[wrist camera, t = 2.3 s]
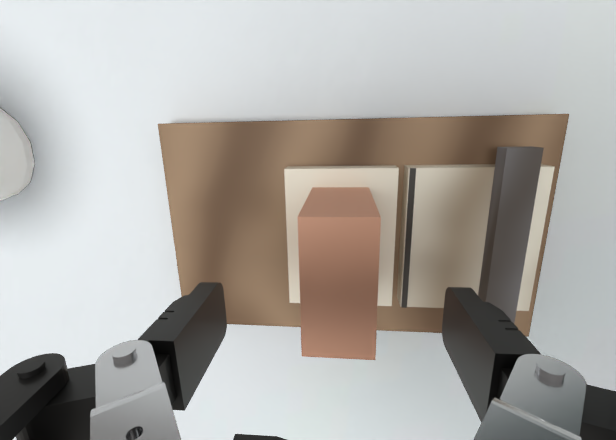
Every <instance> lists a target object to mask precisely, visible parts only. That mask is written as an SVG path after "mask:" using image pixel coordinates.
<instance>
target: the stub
mask: <svg viewBox="0 0 616 440" xmlns="http://www.w3.org/2000/svg"><path fill="white" fill-rule="evenodd" d="M398 175H399V168H398V167H397V166H396V165H389V166H288V167H286V168H285V169H284V177H285V201H286V226H287V251H288V275H289V300H290V303H300V313H301V345H302V356H306V357H326V358H345V359H365V360H375V354H376V328H377V306H392V289H393V270H394V251H395V232H396V213H397V194H398Z"/></svg>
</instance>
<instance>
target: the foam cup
mask: <svg viewBox="0 0 616 440" xmlns="http://www.w3.org/2000/svg"><path fill="white" fill-rule="evenodd" d="M34 165H35V163H34V158H33V153H32V148H31V143H30V141H29V139H28V138H27V136H26V134H25V133H24V131H23V130H22V128H21V126H20V125H19V123H18V122H17V121H16V120H15V119H13V118H12V117H11V116H10V115H8V114H7V113H6V112H5V111H3V110H2V109H1V108H0V201H2V200H4V199H7V198H10V197H11V196H12V195H17V194H19V193H20V192H21V191H22V190H23V189H24V188H25V187H26V186H27V185H28V184H29V183H30V181H31V177H32V173H33V169H34Z"/></svg>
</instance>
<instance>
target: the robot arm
mask: <svg viewBox="0 0 616 440" xmlns="http://www.w3.org/2000/svg"><path fill="white" fill-rule="evenodd" d="M226 328H227V318H226V308H225V299H224V289H223V285H222V283H218V282H200V283H199V284H198V285H197V286H196V287H195V288H194V290H193V291H192V292H191V293H190V294H189V295H184V296H183V297H181V298H179V299H178V300H176V301H174V302H173V303H172V304H171V305H170V306H169V307H168V308H167V309H166V310H165V312H163V313H162V314H161V315H160V316H159V318H158V319H157V320H156V321H155V322H154V323H153V324H152V325H151V326H150V327H149V328H148V329H147V330H146V331H145V332H144V334H143V335H142V336H141V337H140V338H139V339H138V340H132V341H127V342H123V343H120V344H118V345H115V346H113V347H111V348H110V349H108V350H107V351H105V352H104V353H103V354H101V356H100V357H99V358H98V359H97V361H96V364H92V365H86V366H81V367H75V368H69V369H67V365H66V362H65V358H64V357H63V356H62V355H60V354H54V353H52V354H43V355H39V356H35V357H32V358H29V359H27V360H25V361H22V362H20V363H18V364H16V365H15V366H13V367H11V368H10V369H9V370H7V371H6V372H5V373H3V374H2V375H1V376H0V440H12V439H13V438H14V437H15V436H16V439H17V440H181V437H180V434H179V430H178V427H177V423H176V420H175V417H174V413H173V410H185V409H186V407H187V405H188V403H189V401H190V400H191V398H192V396H193V394H194V392H195V390H196V388H197V387H198V385H199V383H200V381H201V379H202V377H203V376H204V374H205V372H206V370H207V368H208V366H209V364H210V363H211V361H212V359H213V357H214V355H215V353H216V352H217V350H218V348H219V346H220V344H221V342H222V340H223V339H224V336H225V333H226ZM442 337H443V342H444V345H445V347H446V350H447V352H448V354H449V356H450V358H451V360H452V362H453V364H454V366H455V368H456V370H457V372H458V375H459V377H460V379H461V381H462V383H463V385H464V387H465V389H466V391H467V393H468V395H469V398H470V400H471V402H472V404H473V406H474V408H475V410H476V412H477V414H478V416H479V418H480V421H481V425H480V427H479V429H478V432H477V434H476V436H475V438H474V440H616V392H615V391H611V390H607V389H603V388H598V387H594V386H591V385H587V384H586V381H585V379H584V378H583V376H582V375H581V374H580V373H579V372H578V371H577V370H575V369H574V368H573V367H571V366H570V365H568V364H566V363H564V362H562V361H560V360H558V359H555V358H552V357H549V356H545V355H541V354H540V352H539V351H538V350H537V349H536V348H535V347H534V346H533V345H532V343H531V342H530V341H529V340H528V339H527V338H526V337H525V335H524V334H523V333H522V332H521V331H519V330H518V328H517V326H516V325H515V324H514V323H513V322H511V320H510V318H509V317H508V316H507V315H506V314H505V313H504V312H503V311H502V310H501V309H499V308H498V307H496V306H494V305H493V304H491V303H489V302H483V301H482V300H481V299H480V297H479V296H478V295H477V294H476V293H475V291H474V290H473V289H472V288H470V287H448V288H447V289H446V292H445V300H444V311H443V321H442ZM233 440H286V439H283V438H280V437H277V436H260V435H244V434H235V436H234V439H233Z"/></svg>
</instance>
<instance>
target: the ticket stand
mask: <svg viewBox="0 0 616 440" xmlns="http://www.w3.org/2000/svg"><path fill="white" fill-rule="evenodd" d="M568 118H569V114H543V115H502V116H460V117H419V118H378V119H336V120H295V121H253V122H212V123H171V124H158V129H159V136H160V143H161V150H162V158H163V165H164V172H165V179H166V186H167V194H168V201H169V208H170V215H171V223H172V230H173V237H174V244H175V251H176V259H177V266H178V273H179V280H180V288H181V295H182V297H183V296H184V295H189V294H190V293H191V292H192V291H193V290H194V288H195V287H196V286H197V285H198V284H199V283H200V282H218V283H222V285H223V289H224V299H225V308H226V318H227V324H242V325H266V326H290V327H301V313H300V303H290V300H289V275H288V251H287V226H286V201H285V177H284V169H285V168H286V167H288V166H389V165H396V166H397V167H398V168H399V175H398V194H397V213H396V232H395V251H394V270H393V289H392V306H377V328H376V330H385V331H409V332H433V333H442V321H443V311H444V300H445V292H446V289H447V288H448V287H470V288H472V289H473V290H474V291H475V293H476V294H477V295H478V296H479V297H480V299H481V300H482V301H483V302H489V303H491V304H493V305H494V306H496V307H498V308H499V309H501V310H502V311H503V312H504V313H505V314H506V315H507V316H508V317H509V318H510V320H511V322H513V323H514V324H515V325H516V326H517V328H518V330H519V331H521V332H522V333H523V334H524V335H525V336H529V331H530V325H531V320H532V315H533V309H534V304H535V298H536V293H537V287H538V282H539V276H540V271H541V265H542V260H543V254H544V249H545V244H546V238H547V233H548V227H549V222H550V216H551V211H552V205H553V200H554V194H555V189H556V183H557V178H558V173H559V167H560V162H561V156H562V151H563V145H564V140H565V134H566V129H567V123H568Z"/></svg>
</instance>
